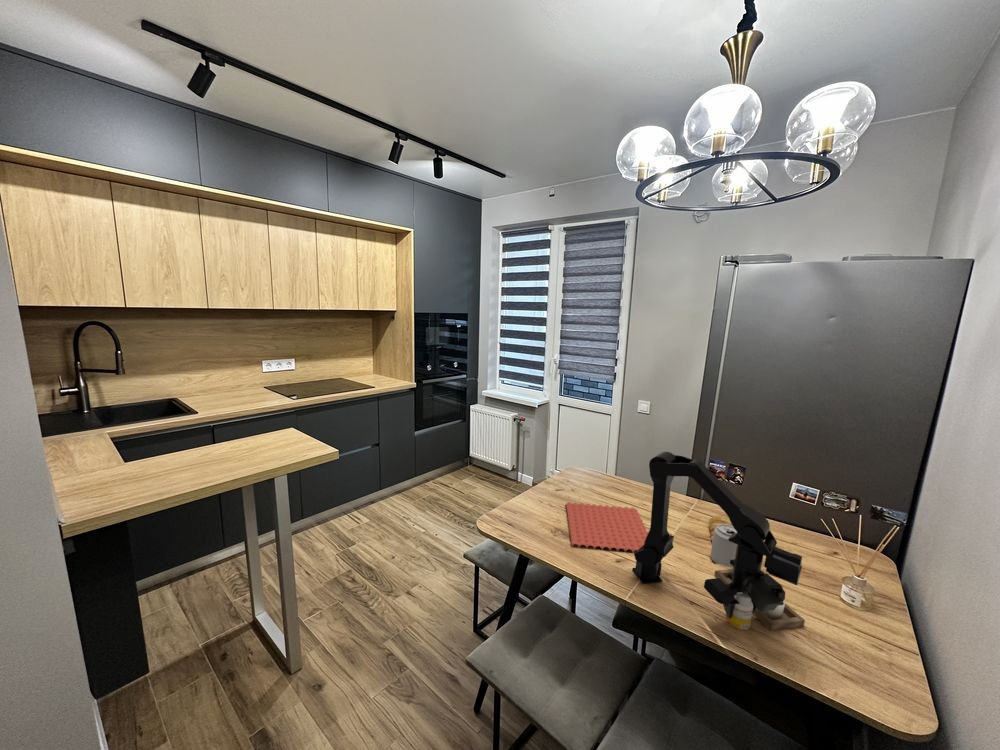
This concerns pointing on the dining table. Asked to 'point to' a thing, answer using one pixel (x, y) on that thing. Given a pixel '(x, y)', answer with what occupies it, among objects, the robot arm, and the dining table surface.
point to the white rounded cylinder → (776, 612)
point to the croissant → (717, 523)
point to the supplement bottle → (742, 612)
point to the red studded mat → (605, 526)
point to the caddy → (787, 621)
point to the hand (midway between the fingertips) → (738, 616)
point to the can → (723, 545)
